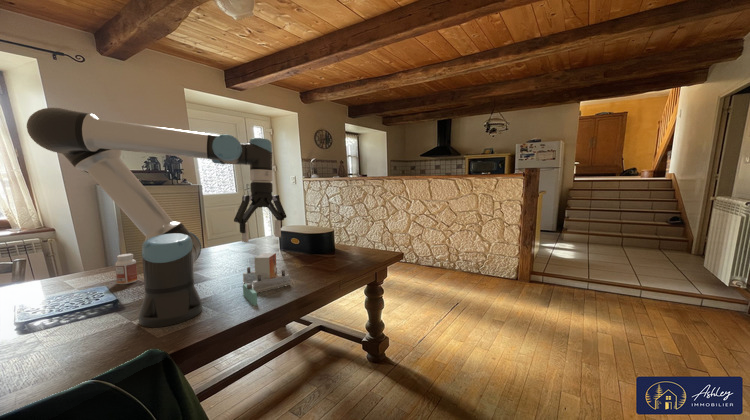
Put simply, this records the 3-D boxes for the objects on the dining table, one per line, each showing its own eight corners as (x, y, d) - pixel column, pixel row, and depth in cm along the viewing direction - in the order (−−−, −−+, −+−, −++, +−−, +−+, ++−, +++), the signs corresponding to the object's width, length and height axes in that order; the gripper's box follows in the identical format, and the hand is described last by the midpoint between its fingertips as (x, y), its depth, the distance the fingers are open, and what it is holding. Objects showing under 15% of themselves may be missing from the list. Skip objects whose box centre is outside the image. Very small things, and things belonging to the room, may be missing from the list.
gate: (252, 305, 89) (252, 289, 89) (242, 295, 98) (242, 281, 97) (257, 304, 90) (257, 288, 90) (247, 294, 99) (247, 280, 98)
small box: (270, 285, 105) (269, 257, 104) (255, 285, 105) (254, 257, 104) (277, 278, 113) (276, 252, 112) (263, 278, 113) (262, 252, 112)
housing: (255, 293, 99) (254, 277, 99) (242, 282, 111) (242, 267, 110) (290, 285, 108) (289, 270, 107) (275, 276, 119) (275, 262, 119)
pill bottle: (137, 278, 116) (135, 252, 115) (137, 282, 111) (135, 255, 110) (117, 281, 112) (115, 254, 111) (116, 286, 107) (114, 257, 106)
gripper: (234, 180, 90) (235, 245, 92) (295, 182, 111) (295, 235, 113) (221, 180, 94) (223, 243, 96) (282, 182, 115) (283, 233, 117)
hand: (262, 239), depth 104 cm, fingers open, 13 cm apart
